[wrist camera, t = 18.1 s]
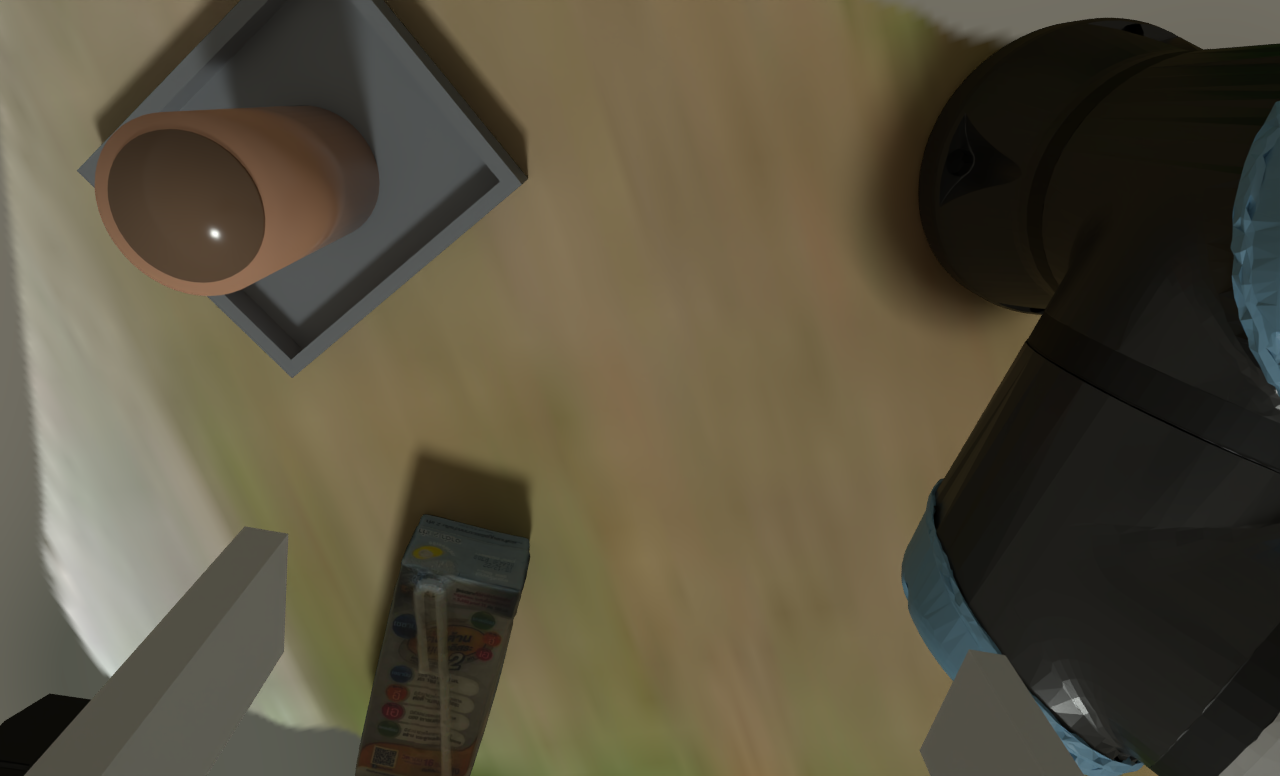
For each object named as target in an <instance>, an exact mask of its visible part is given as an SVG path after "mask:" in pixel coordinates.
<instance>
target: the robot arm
mask: <svg viewBox="0 0 1280 776" xmlns="http://www.w3.org/2000/svg"><path fill="white" fill-rule="evenodd" d="M919 209H920V216H921V221H922V225H923V229H924V232H925V235H926V238H927V241H928V243H929V245H930V247H931V249H932V251H933V253H934V255H935V256H936V258H937V259H938V261H939V262H940V264H941V265H942V266H943V267H944V269H945V270H946V271H947V272H948V273H949V274H950V275H951V276H952V277H953V278H954V279H955V280H956V281H958V282H959V283H960V284H961V285H963V286H964V287H966V288H967V289H969V290H971V291H972V292H974V293H976V294H977V295H979V296H981V297H982V298H984V299H986V300H988V301H989V302H992V303H994V304H996V305H998V306H1001V307H1004V308H1007V309H1010V310H1014V311H1017V312H1022V313H1028V314H1036V315H1042V316H1041V318H1040V319H1039V321H1038V323H1037V324H1036V326H1035V328H1034V330H1033V331H1032V333H1031V335H1030V336H1029V338H1028V339H1027V341H1025V343H1024V345H1023V346H1022V348H1021V350H1020V352H1019V353H1018V355H1017V357H1016V358H1015V360H1014V362H1013V363H1012V365H1011V367H1010V368H1009V370H1008V372H1007V373H1006V375H1005V377H1004V379H1003V380H1002V382H1001V384H1000V385H999V387H998V389H997V390H996V392H995V394H994V395H993V397H992V399H991V400H990V402H989V404H988V406H987V407H986V409H985V411H984V412H983V414H982V416H981V417H980V419H979V421H978V422H977V424H976V426H975V427H974V429H973V431H972V433H971V434H970V436H969V438H968V439H967V441H966V443H965V444H964V446H963V448H962V449H961V451H960V453H959V454H958V456H957V458H956V460H955V461H954V463H953V465H952V466H951V468H950V470H949V471H948V473H947V475H946V476H945V478H943V479H940V480H939V481H938V482H937V483H936V485H935V486H934V487H933V489H932V491H931V493H930V495H929V498H928V502H927V507H926V511H925V513H924V515H923V517H922V519H921V521H920V523H919V525H918V527H917V529H916V531H915V533H914V535H913V537H912V539H911V541H910V543H909V545H908V546H907V549H906V551H905V554H904V558H903V562H902V573H901V577H902V585H903V589H904V593H905V596H906V598H907V600H908V609H909V613H910V615H911V618H912V620H913V622H914V624H915V626H916V628H917V630H918V632H919V634H920V636H921V637H922V639H923V641H924V642H925V644H926V646H927V647H928V649H929V650H930V652H931V653H932V655H933V656H934V657H935V659H936V660H937V662H938V663H939V664H940V666H941V667H942V668H943V670H944V671H945V672H946V673H947V674H948V676H949V677H950V678H951V679H952V680H953V683H952V685H951V687H950V689H949V691H948V693H947V695H946V698H945V700H944V702H943V704H942V706H941V708H940V710H939V712H938V714H937V716H936V718H935V720H934V722H933V724H932V726H931V728H930V730H929V732H928V734H927V737H926V739H925V741H924V743H923V745H922V747H921V749H920V752H921V754H922V757H923V759H924V761H925V764H926V766H927V768H928V771H929V773H930V775H931V776H1084V774H1085V775H1088V776H1118V775H1122V774H1123V773H1128V772H1133V771H1137V770H1139V769H1140V768H1141V767H1142V766H1143V765H1146V766H1147V767H1148V768H1150V769H1151V770H1152V771H1153V772H1155V773H1156V774H1157V775H1158V776H1280V44H1268V45H1257V46H1244V47H1232V48H1220V49H1205V50H1203V49H1201V48H1199V47H1197V46H1195V45H1194V44H1192V43H1190V42H1188V41H1186V40H1184V39H1182V38H1180V37H1178V36H1176V35H1175V34H1173V33H1171V32H1169V31H1167V30H1165V29H1162V28H1160V27H1157V26H1155V25H1152V24H1149V23H1145V22H1141V21H1137V20H1130V19H1123V18H1122V19H1121V18H1095V19H1087V20H1080V21H1073V22H1067V23H1061V24H1056V25H1052V26H1049V27H1045V28H1042V29H1039V30H1037V31H1034V32H1031V33H1029V34H1027V35H1025V36H1022V37H1020V38H1019V39H1017V40H1015V41H1013V42H1011V43H1009V44H1008V45H1006V46H1005V47H1003V48H1001V49H1000V50H999V51H997V52H996V53H994V54H993V55H991V56H990V57H989V58H988V59H987V60H985V61H984V62H983V63H982V64H981V65H979V66H978V67H977V68H976V69H975V70H974V71H973V72H972V73H971V74H970V75H969V76H968V77H967V78H966V79H965V80H964V82H963V83H962V84H961V85H960V86H959V88H958V89H957V90H956V91H955V93H954V94H953V95H952V97H951V98H950V100H949V101H948V103H947V104H946V106H945V107H944V109H943V111H942V112H941V114H940V116H939V118H938V120H937V122H936V124H935V126H934V128H933V130H932V132H931V135H930V137H929V140H928V143H927V146H926V149H925V152H924V156H923V160H922V165H921V170H920V178H919ZM287 553H288V534H286V533H280V532H274V531H268V530H262V529H257V528H251V527H244V528H243V529H242V530H241V531H240V532H239V534H238V535H237V536H236V537H235V538H234V539H233V540H232V542H231V543H230V544H229V545H228V546H227V547H226V548H225V549H224V551H223V552H222V553H221V554H220V555H219V556H218V557H217V558H216V560H215V561H214V562H213V563H212V564H211V565H210V566H209V567H208V569H207V570H206V571H205V572H204V573H203V574H202V575H201V577H200V578H199V579H198V580H197V581H196V582H195V583H194V584H193V586H192V587H191V588H190V589H189V590H188V591H187V592H186V593H185V595H184V596H183V597H182V598H181V599H180V600H179V601H178V602H177V604H176V605H175V606H174V607H173V608H172V609H171V610H170V611H169V613H168V614H167V615H166V616H165V617H164V618H163V619H162V621H161V622H160V623H159V624H158V625H157V626H156V627H155V628H154V630H153V631H152V632H151V633H150V634H149V635H148V636H147V637H146V639H145V640H144V641H143V642H142V643H141V644H140V645H139V646H138V648H137V649H136V650H135V651H134V652H133V653H132V654H131V656H130V657H129V658H128V659H127V660H126V661H125V662H124V663H123V665H122V666H121V667H120V668H119V669H118V670H117V671H116V672H115V674H114V675H113V676H112V677H111V678H110V679H109V680H108V681H107V683H106V684H105V685H104V686H103V687H102V688H101V689H100V691H99V692H98V693H97V694H96V695H95V696H94V697H93V698H92V700H90V699H83V698H76V697H69V696H62V695H55V694H48V695H47V696H45V697H43V698H42V699H40V700H38V701H37V702H35V703H33V704H32V705H30V706H28V707H27V708H25V709H24V710H22V711H21V712H19V713H17V714H15V715H14V716H12V717H11V718H9V719H7V720H6V721H4V722H3V723H2V724H1V725H0V776H207V775H208V773H209V771H210V770H211V768H212V766H213V764H214V763H215V762H216V760H217V758H218V757H219V755H220V753H221V752H222V750H223V749H224V747H225V746H226V744H227V742H228V741H229V739H230V737H231V736H232V734H233V733H234V731H235V729H236V728H237V726H238V725H239V723H240V721H241V720H242V718H243V716H244V715H245V713H246V712H247V710H248V708H249V707H250V705H251V704H252V702H253V700H254V699H255V697H256V696H257V694H258V692H259V691H260V689H261V687H262V686H263V684H264V683H265V681H266V679H267V678H268V676H269V675H270V673H271V671H272V670H273V668H274V666H275V665H276V663H277V662H278V660H279V658H280V657H281V655H282V654H283V652H284V633H285V606H286V579H287Z"/></svg>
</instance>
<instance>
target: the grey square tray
mask: <svg viewBox="0 0 1280 776" xmlns="http://www.w3.org/2000/svg"><path fill="white" fill-rule="evenodd" d="M293 105H309V106H315V107H320V108H323V109H326V110H329V111H331V112H333V113H335V114H337V115H339V116H341V117H342V118H344V119H345V120H346V121H348V122H349V123H350V124H351V125H353V126H354V127H355V128H356V129H357V130H358V131H359V133H360V134H361V135H362V136H363V138H364V139H365V140H366V142H367V144H368V145H369V147H370V149H371V151H372V153H373V155H374V157H375V160H376V163H377V167H378V172H379V182H380V183H379V194H378V199H377V202H376V205H375V208H374V210H373V212H372V214H371V215H370V217H369V218H368V219H367V221H366V222H365V223H364V224H363V225H362V226H361V227H359V228H358V229H357V230H355V231H354V232H352V233H350V234H348V235H346V236H344V237H342V238H341V239H339V240H337V241H335V242H333V243H331V244H329V245H327V246H325V247H323V248H321V249H319V250H317V251H315V252H313V253H311V254H309V255H307V256H305V257H303V258H302V259H300V260H298V261H296V262H294V263H292V264H290V265H288V266H286V267H284V268H282V269H280V270H278V271H276V272H274V273H272V274H270V275H268V276H266V277H265V278H263V279H261V280H259V281H257V282H255V283H253V284H251V285H249V286H247V287H245V288H243V289H241V290H238V291H236V292H233V293H229V294H224V295H217V296H207V297H208V298H210V299H211V300H212V301H213V302H214V303H215V304H216V305H217V306H218V307H219V308H220V309H221V310H222V311H223V312H224V313H225V314H226V315H227V316H228V317H229V318H230V319H231V320H232V321H233V322H234V323H235V324H236V325H238V326H239V327H240V328H241V329H242V330H243V331H244V332H245V333H246V334H247V335H248V336H249V337H250V338H251V339H252V340H253V341H254V342H255V343H256V344H257V345H258V346H259V347H260V348H261V349H262V350H263V351H265V352H266V353H267V354H268V355H269V356H270V357H271V358H272V359H273V360H274V361H275V362H276V363H277V364H278V365H279V366H280V367H281V368H282V369H283V370H284V371H285V372H286V373H287V374H288V375H289V376H290V377H292V378H293V377H294V376H295V375H296V374H298V373H299V372H300V371H301V370H302V369H303V368H305V367H306V366H307V365H308V364H309V363H311V362H312V361H313V360H314V359H315V358H316V357H318V356H319V355H320V354H321V353H322V352H324V351H325V350H326V349H327V348H328V347H330V346H331V345H332V344H333V343H334V342H335V341H337V340H338V339H339V338H340V337H341V336H343V335H344V334H345V333H346V332H347V331H349V330H350V329H351V328H352V327H353V326H354V325H356V324H357V323H358V322H359V321H360V320H362V319H363V318H364V317H365V316H366V315H367V314H369V313H370V312H371V311H372V310H373V309H375V308H376V307H377V306H378V305H379V304H381V303H382V302H383V301H384V300H385V299H386V298H388V297H389V296H390V295H391V294H392V293H394V292H395V291H396V290H397V289H398V288H400V287H401V286H402V285H403V284H404V283H405V282H407V281H408V280H409V279H410V278H411V277H413V276H414V275H415V274H416V273H417V272H418V271H420V270H421V269H422V268H423V267H424V266H426V265H427V264H428V263H429V262H430V261H432V260H433V259H434V258H435V257H436V256H437V255H439V254H440V253H441V252H442V251H443V250H445V249H446V248H447V247H448V246H449V245H450V244H452V243H453V242H454V241H455V240H456V239H458V238H459V237H460V236H461V235H462V234H464V233H465V232H466V231H467V230H468V229H469V228H471V227H472V226H473V225H474V224H475V223H477V222H478V221H479V220H480V219H481V218H483V217H484V216H485V215H486V214H487V213H488V212H490V211H491V210H492V209H493V208H494V207H496V206H497V205H498V204H499V203H500V202H501V201H503V200H504V199H505V198H506V197H507V196H509V195H510V194H511V193H512V192H513V191H515V190H516V189H517V188H518V187H519V186H520V185H522V184H523V183H524V182H525V181H526V180H527V179H528V178H527V177H526V175H525V174H524V173H523V172H522V171H521V169H520V168H519V167H518V166H517V164H516V163H515V162H514V161H513V159H512V158H511V157H510V156H509V155H508V153H507V152H506V151H505V150H504V148H503V147H502V146H501V145H500V143H499V142H498V141H497V140H496V138H495V137H494V136H493V135H492V134H491V132H490V131H489V130H488V129H487V127H486V126H485V125H484V124H483V122H482V121H481V120H480V119H479V118H478V116H477V115H476V114H475V113H474V111H473V110H472V109H471V108H470V106H469V105H468V104H467V103H466V101H465V100H464V99H463V98H462V97H461V95H460V94H459V93H458V92H457V90H456V89H455V88H454V87H453V85H452V84H451V83H450V82H449V81H448V79H447V78H446V77H445V76H444V74H443V73H442V72H441V71H440V69H439V68H438V67H437V66H436V65H435V63H434V62H433V61H432V60H431V58H430V57H429V56H428V55H427V53H426V52H425V51H424V50H423V48H422V47H421V46H420V45H419V44H418V42H417V41H416V40H415V39H414V37H413V36H412V35H411V34H410V32H409V31H408V30H407V29H406V28H405V26H404V25H403V24H402V23H401V21H400V20H399V19H398V18H397V16H396V15H395V14H394V13H393V11H392V10H391V9H390V8H389V7H388V5H387V4H386V3H385V2H384V0H240V1H239V2H238V4H237V5H236V6H235V7H234V8H233V9H232V10H231V11H230V12H229V13H228V14H227V15H226V16H225V17H224V18H223V19H222V20H221V21H220V22H219V23H218V24H217V25H216V26H215V27H214V28H213V30H212V31H211V32H210V33H209V34H208V35H207V36H206V37H205V38H204V39H203V40H202V41H201V42H200V43H199V44H198V45H197V46H196V47H195V48H194V49H193V50H192V51H191V52H190V53H189V54H188V56H187V57H186V58H185V59H184V60H183V61H182V62H181V63H180V64H179V65H178V66H177V67H176V68H175V69H174V70H173V71H172V72H171V73H170V74H169V75H168V76H167V77H166V78H165V79H164V81H163V82H162V83H161V84H160V85H159V86H158V87H157V88H156V89H155V90H154V91H153V92H152V93H151V94H150V95H149V96H148V97H147V98H146V99H145V100H144V101H143V102H142V103H141V104H140V105H139V107H138V108H137V109H136V110H135V111H134V112H133V113H132V114H131V115H130V116H129V117H128V118H127V119H126V120H125V121H124V122H123V123H122V124H121V125H120V126H119V127H118V128H117V129H116V130H118V129H119V128H120V127H121V126H122V125H124V124H126V123H127V122H129V121H130V120H132V119H135V118H137V117H140V116H142V115H146V114H151V113H158V112H173V111H193V110H213V109H233V108H253V107H273V106H293ZM116 130H115V131H116ZM115 131H114V132H115ZM111 136H112V135H111ZM111 136H110V137H111ZM110 137H109V138H110ZM109 138H108V139H109ZM108 139H107V140H106V141H105V142H104V143H103V144H102V145H101V146H100V147H99V148H98V149H97V150H96V151H95V152H94V153H93V154H92V155H91V156H90V157H89V159H88V160H87V161H86V162H85V163H84V164H83V165H82V166H81V167H80V168H79V169H78V170H77V171H78V172H79V173H80V174H81V175H82V176H83V177H84V178H85V179H86V180H87V181H88V182H89V183H90V184H91V185H92V186H93V187H94V188H95V172H96V166H97V162H98V159H99V156H100V153H101V151H102V149H103V147H104V145H105V144H106V142H107V141H108Z"/></svg>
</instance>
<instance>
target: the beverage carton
mask: <svg viewBox="0 0 1280 776" xmlns="http://www.w3.org/2000/svg"><path fill="white" fill-rule="evenodd" d="M529 561H530V553H529V540H528V539H526V538H523V537H518V536H513V535H509V534H504V533H499V532H495V531H491V530H487V529H484V528H479V527H476V526H472V525H467V524H464V523H460V522H455V521H451V520H447V519H444V518H440V517H436V516H431V515H423V516H422V517H421V519H420V522H419V525H418V526H417V527H416V529H415V531H414V534H413V536H412V538H411V540H410V542H409V544H408V546H407V548H406V551H405V553H404V556H403V559H402V562H401V569H400V573H399V577H398V581H397V583H396V586H395V589H394V595H393V600H392V604H391V609H390V613H389V617H388V622H387V627H386V632H385V636H384V640H383V644H382V648H381V652H380V657H379V661H378V666H377V670H376V674H375V678H374V683H373V688H372V692H371V697H370V702H369V706H368V710H367V715H366V719H365V724H364V729H363V733H362V738H361V743H360V747H359V754H358V758H357V764H356V773H355V776H470V774H471V770H472V768H473V765H474V762H475V759H476V756H477V753H478V749H479V746H480V743H481V740H482V737H483V734H484V731H485V727H486V724H487V721H488V717H489V714H490V710H491V707H492V703H493V700H494V697H495V693H496V690H497V686H498V683H499V679H500V675H501V671H502V667H503V663H504V659H505V655H506V651H507V646H508V642H509V638H510V634H511V630H512V626H513V619H514V617H515V615H516V613H517V608H518V605H519V601H520V598H521V593H522V590H523V587H524V583H525V580H526V576H527V570H528V565H529Z"/></svg>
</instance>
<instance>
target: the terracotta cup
mask: <svg viewBox="0 0 1280 776" xmlns="http://www.w3.org/2000/svg"><path fill="white" fill-rule="evenodd" d="M379 183H380V182H379V172H378V167H377V163H376V160H375V157H374V155H373V153H372V151H371V149H370V147H369V145H368V144H367V142H366V140H365V139H364V138H363V136H362V135H361V134H360V133H359V131H358V130H357V129H356V128H355V127H354V126H353V125H351V124H350V123H349V122H348V121H346V120H345V119H344V118H342V117H341V116H339V115H337V114H335V113H333V112H331V111H329V110H326V109H323V108H320V107H315V106H309V105H293V106H273V107H253V108H233V109H213V110H193V111H173V112H158V113H151V114H146V115H142V116H140V117H137V118H135V119H132V120H130V121H129V122H127V123H126V124H124V125H122V126H121V127H120V128H119V129H118V130H116V131H115V132H114V133H113V134H112V136H111V137H110V138H109V139H108V141H107V142H106V144H105V145H104V147H103V149H102V151H101V153H100V156H99V159H98V162H97V166H96V172H95V195H96V201H97V205H98V210H99V212H100V215H101V218H102V221H103V223H104V225H105V227H106V229H107V231H108V233H109V235H110V236H111V238H112V240H113V241H114V243H115V244H116V246H117V247H118V248H119V249H120V251H121V252H122V253H123V254H124V255H125V257H126V258H127V259H128V260H129V261H130V262H131V263H132V264H133V265H135V266H136V267H137V268H138V269H139V270H140V271H142V272H143V273H144V274H146V275H147V276H149V277H150V278H152V279H153V280H155V281H157V282H159V283H161V284H162V285H164V286H167V287H169V288H172V289H174V290H177V291H180V292H184V293H187V294H193V295H200V296H217V295H224V294H229V293H233V292H236V291H238V290H241V289H243V288H245V287H247V286H249V285H251V284H253V283H255V282H257V281H259V280H261V279H263V278H265V277H266V276H268V275H270V274H272V273H274V272H276V271H278V270H280V269H282V268H284V267H286V266H288V265H290V264H292V263H294V262H296V261H298V260H300V259H302V258H303V257H305V256H307V255H309V254H311V253H313V252H315V251H317V250H319V249H321V248H323V247H325V246H327V245H329V244H331V243H333V242H335V241H337V240H339V239H341V238H342V237H344V236H346V235H348V234H350V233H352V232H354V231H355V230H357V229H358V228H359V227H361V226H362V225H363V224H364V223H365V222H366V221H367V219H368V218H369V217H370V215H371V214H372V212H373V210H374V208H375V205H376V202H377V199H378V194H379Z"/></svg>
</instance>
